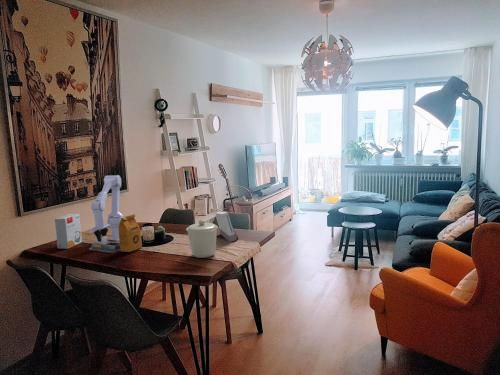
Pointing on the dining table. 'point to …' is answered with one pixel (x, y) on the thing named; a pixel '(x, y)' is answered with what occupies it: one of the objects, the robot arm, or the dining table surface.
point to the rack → (106, 247)
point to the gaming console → (226, 226)
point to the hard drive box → (68, 231)
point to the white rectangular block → (102, 240)
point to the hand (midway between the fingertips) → (101, 240)
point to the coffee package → (129, 234)
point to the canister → (202, 239)
